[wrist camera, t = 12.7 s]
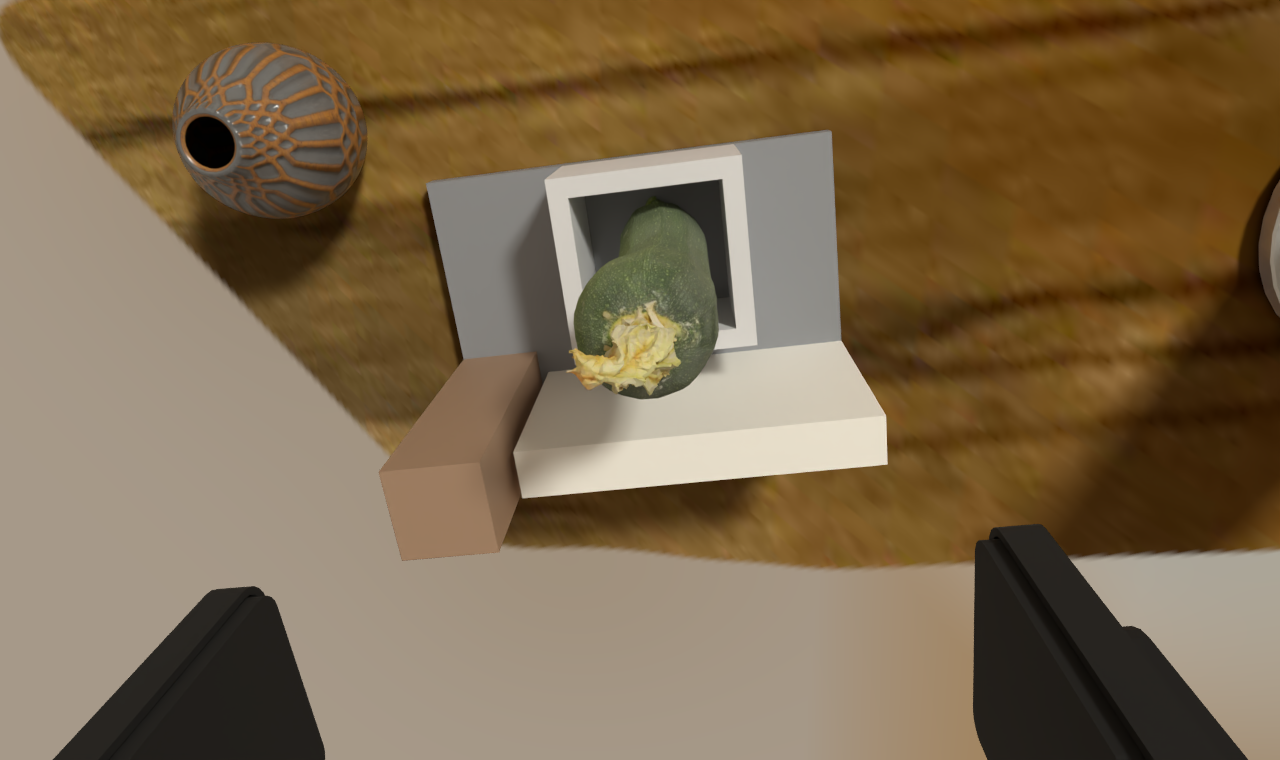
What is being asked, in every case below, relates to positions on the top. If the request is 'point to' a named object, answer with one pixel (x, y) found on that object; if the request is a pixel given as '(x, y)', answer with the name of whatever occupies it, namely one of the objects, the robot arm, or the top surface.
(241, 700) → the robot arm
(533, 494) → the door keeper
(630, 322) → the vegetable
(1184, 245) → the top surface
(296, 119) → the vase
